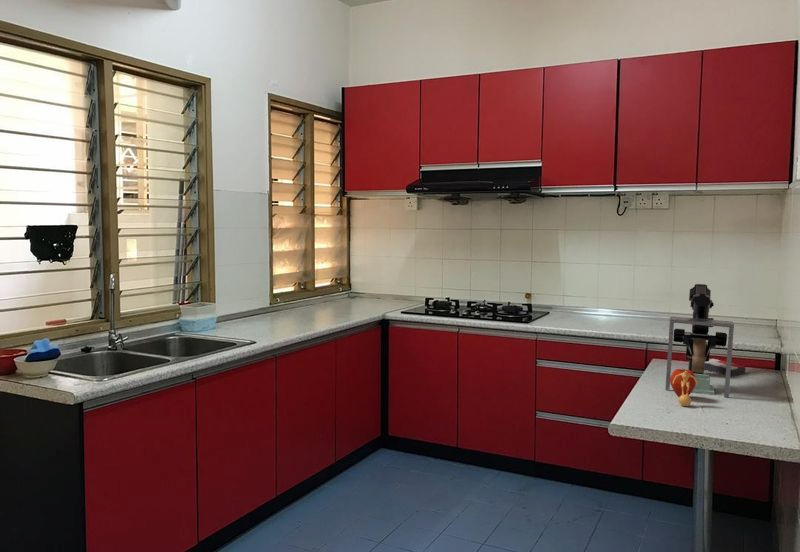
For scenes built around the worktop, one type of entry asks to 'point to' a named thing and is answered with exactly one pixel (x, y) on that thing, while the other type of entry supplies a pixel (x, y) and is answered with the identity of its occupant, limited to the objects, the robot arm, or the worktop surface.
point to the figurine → (683, 399)
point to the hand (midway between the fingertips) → (699, 355)
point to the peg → (698, 355)
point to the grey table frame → (708, 323)
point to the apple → (677, 382)
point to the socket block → (703, 384)
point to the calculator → (723, 367)
